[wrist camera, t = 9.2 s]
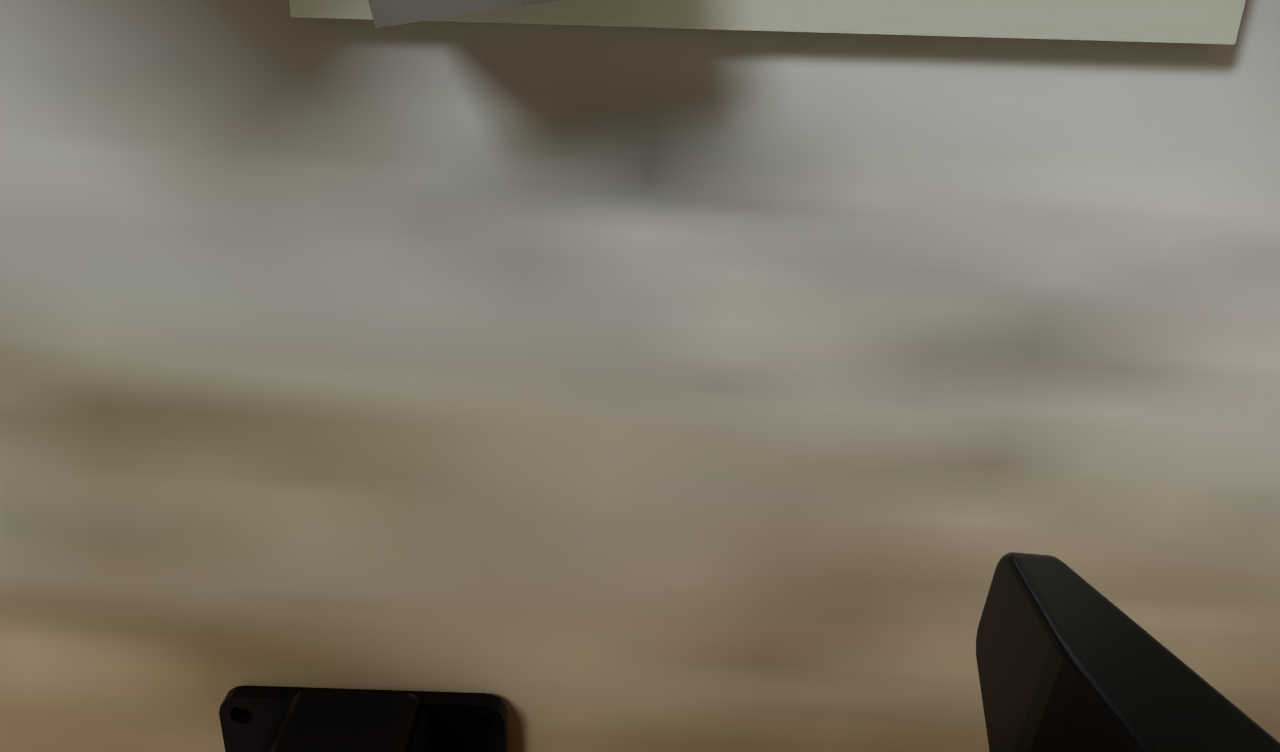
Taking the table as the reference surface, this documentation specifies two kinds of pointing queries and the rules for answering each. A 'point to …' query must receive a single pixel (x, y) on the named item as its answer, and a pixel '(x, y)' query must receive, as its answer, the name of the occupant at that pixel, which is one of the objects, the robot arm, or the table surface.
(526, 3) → the grey metal block
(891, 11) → the sage board
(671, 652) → the table surface
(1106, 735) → the robot arm
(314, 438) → the table surface
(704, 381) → the table surface
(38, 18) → the table surface
